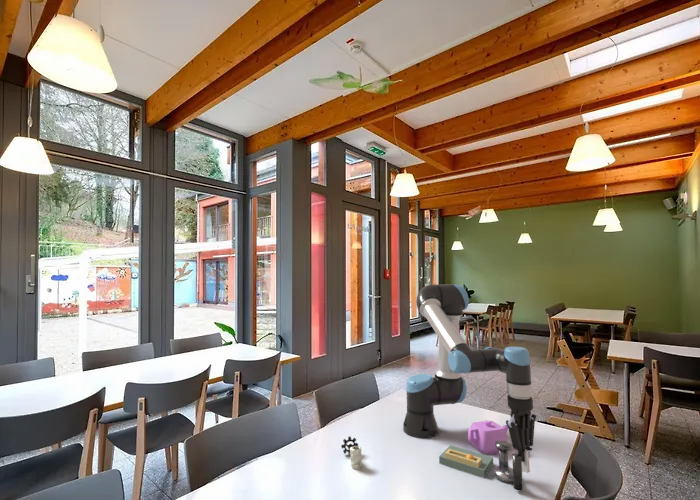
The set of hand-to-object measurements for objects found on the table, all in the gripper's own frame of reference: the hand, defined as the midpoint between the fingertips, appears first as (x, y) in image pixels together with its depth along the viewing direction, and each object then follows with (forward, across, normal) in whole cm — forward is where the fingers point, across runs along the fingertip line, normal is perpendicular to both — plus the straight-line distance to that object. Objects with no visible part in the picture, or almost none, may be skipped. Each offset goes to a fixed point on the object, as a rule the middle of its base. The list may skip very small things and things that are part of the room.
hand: (524, 470), depth 116 cm
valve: (+4, +39, -42) cm, 58 cm away
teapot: (+5, -13, -24) cm, 28 cm away
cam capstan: (+5, +2, -4) cm, 7 cm away
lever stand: (+5, +5, -20) cm, 21 cm away
